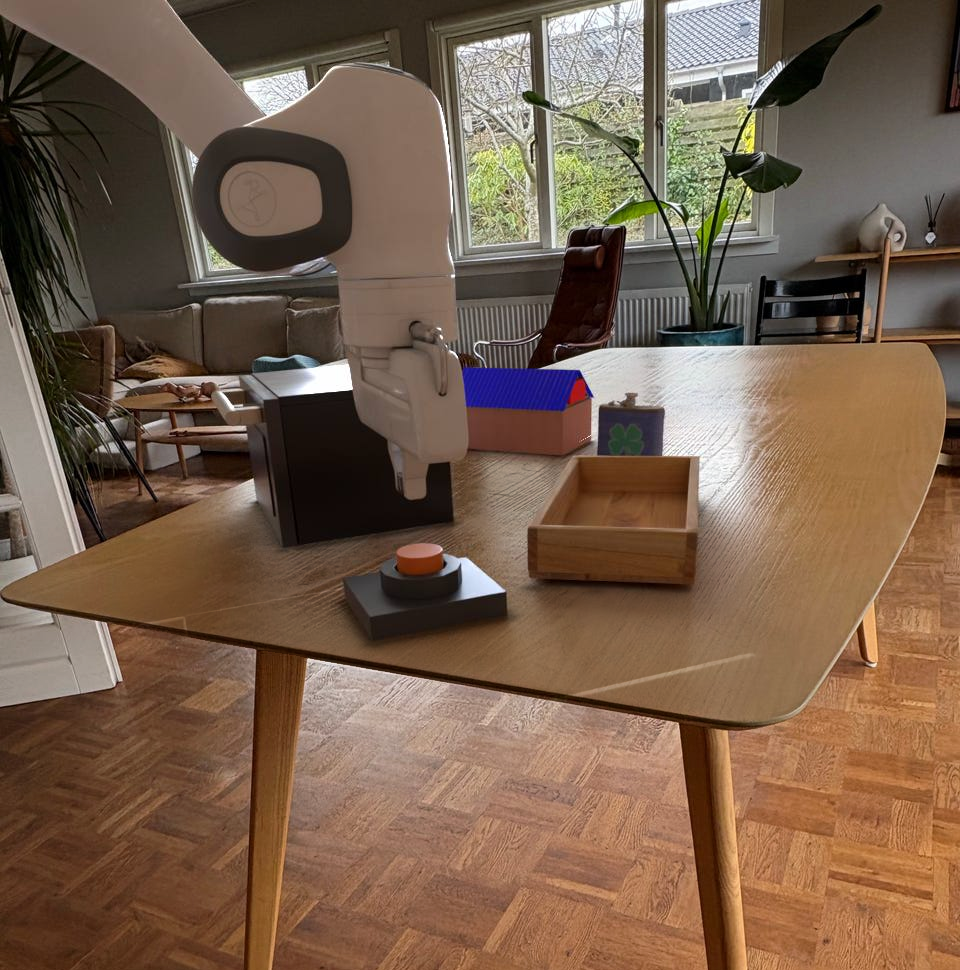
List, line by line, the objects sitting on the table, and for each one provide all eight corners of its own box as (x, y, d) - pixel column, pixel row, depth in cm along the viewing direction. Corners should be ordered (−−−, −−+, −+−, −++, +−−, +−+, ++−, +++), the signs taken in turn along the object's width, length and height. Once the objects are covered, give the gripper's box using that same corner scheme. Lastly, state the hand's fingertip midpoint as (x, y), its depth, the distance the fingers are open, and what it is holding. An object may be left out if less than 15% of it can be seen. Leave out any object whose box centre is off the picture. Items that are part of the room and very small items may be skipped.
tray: (572, 496, 105) (572, 451, 102) (696, 499, 101) (700, 452, 99) (527, 586, 78) (525, 527, 75) (694, 593, 74) (698, 532, 72)
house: (485, 433, 144) (482, 362, 139) (593, 440, 135) (594, 364, 130) (449, 447, 134) (445, 372, 129) (563, 456, 125) (563, 375, 120)
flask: (664, 472, 114) (667, 391, 109) (657, 477, 111) (660, 395, 107) (600, 467, 118) (601, 389, 113) (592, 472, 116) (593, 393, 111)
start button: (405, 580, 70) (403, 561, 70) (392, 566, 74) (390, 547, 73) (449, 572, 72) (448, 553, 71) (435, 558, 75) (434, 540, 74)
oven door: (247, 552, 90) (224, 402, 83) (226, 503, 109) (206, 378, 102) (297, 545, 92) (278, 398, 85) (268, 498, 110) (251, 374, 104)
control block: (372, 641, 68) (367, 596, 66) (345, 600, 77) (340, 559, 75) (507, 615, 72) (506, 571, 70) (467, 578, 80) (465, 538, 79)
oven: (300, 546, 92) (278, 396, 85) (270, 499, 110) (251, 373, 104) (454, 522, 97) (445, 380, 91) (401, 481, 116) (391, 360, 109)
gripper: (487, 324, 56) (492, 522, 62) (402, 310, 74) (412, 466, 79) (396, 330, 54) (410, 534, 60) (331, 314, 72) (347, 473, 77)
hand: (411, 495), depth 70 cm, fingers closed
